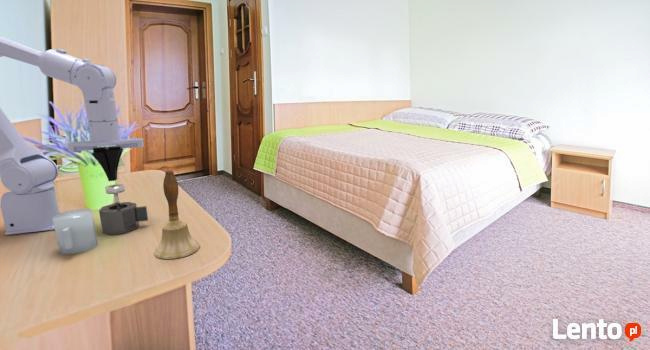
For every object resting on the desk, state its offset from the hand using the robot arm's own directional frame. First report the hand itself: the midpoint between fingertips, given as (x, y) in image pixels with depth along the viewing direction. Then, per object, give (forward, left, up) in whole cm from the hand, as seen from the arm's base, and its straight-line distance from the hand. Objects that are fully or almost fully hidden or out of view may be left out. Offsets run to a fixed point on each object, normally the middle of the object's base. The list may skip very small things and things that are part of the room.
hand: (112, 180), depth 81 cm
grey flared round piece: (+1, -5, -7) cm, 8 cm away
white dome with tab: (-5, -13, -11) cm, 17 cm away
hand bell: (+14, -21, -11) cm, 27 cm away
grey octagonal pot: (+2, -5, -11) cm, 12 cm away
